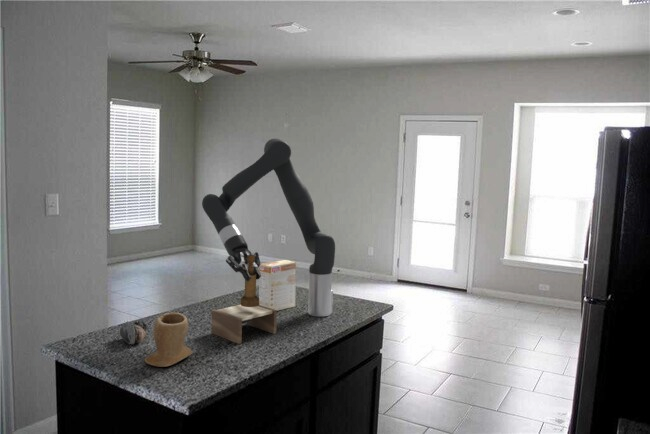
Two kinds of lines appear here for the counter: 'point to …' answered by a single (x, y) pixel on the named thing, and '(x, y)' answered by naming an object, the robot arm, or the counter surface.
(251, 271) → the brown wooden pepper mill
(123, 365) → the counter surface
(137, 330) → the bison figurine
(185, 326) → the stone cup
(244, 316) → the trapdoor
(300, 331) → the counter surface
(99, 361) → the counter surface
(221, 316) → the brown upright panels
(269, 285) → the coffeecake box
